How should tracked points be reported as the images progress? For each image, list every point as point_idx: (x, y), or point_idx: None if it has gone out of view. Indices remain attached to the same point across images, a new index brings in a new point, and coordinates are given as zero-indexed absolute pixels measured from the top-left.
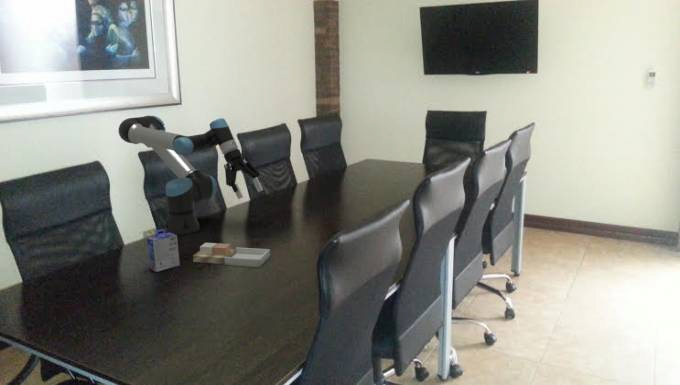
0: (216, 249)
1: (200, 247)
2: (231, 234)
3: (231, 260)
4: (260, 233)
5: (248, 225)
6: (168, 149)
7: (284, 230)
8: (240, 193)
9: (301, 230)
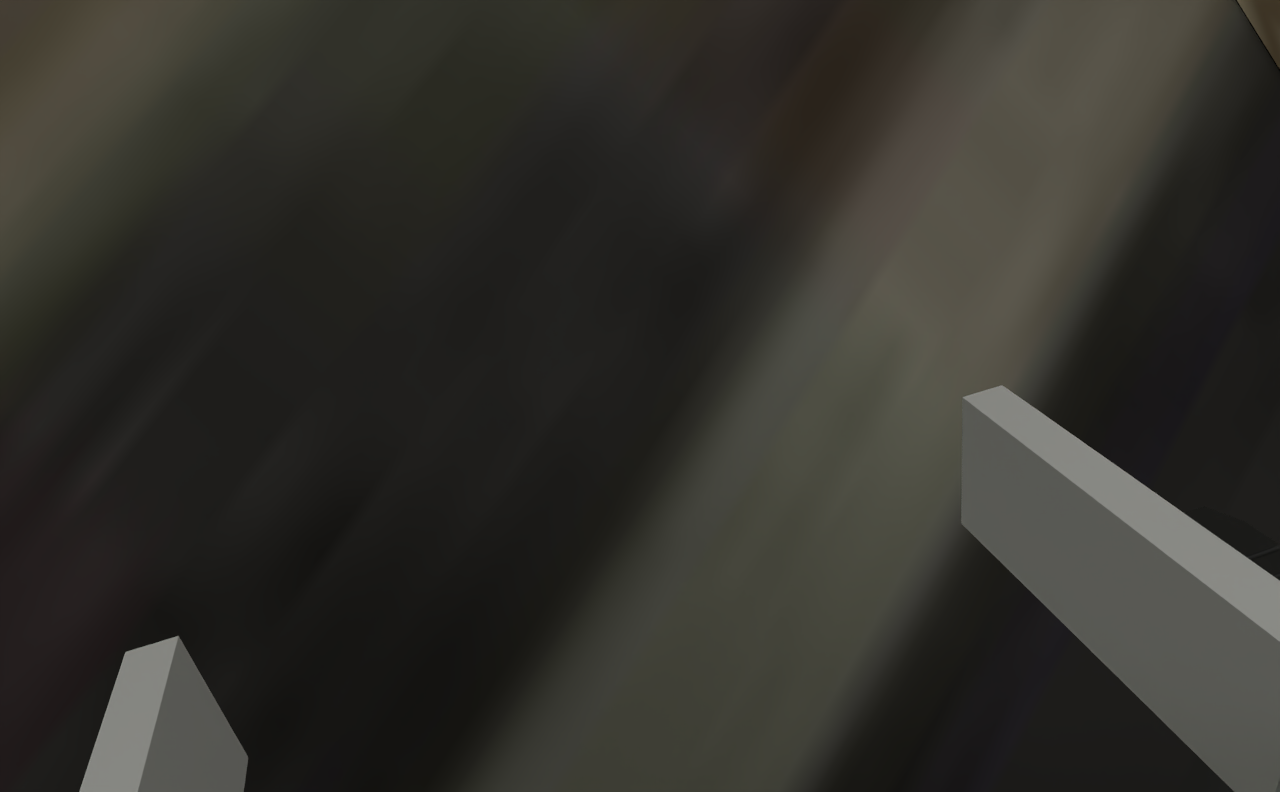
0: None
1: None
2: (826, 549)
3: None
4: (550, 328)
5: (455, 743)
6: None
7: (241, 207)
8: (1071, 437)
9: (67, 36)
